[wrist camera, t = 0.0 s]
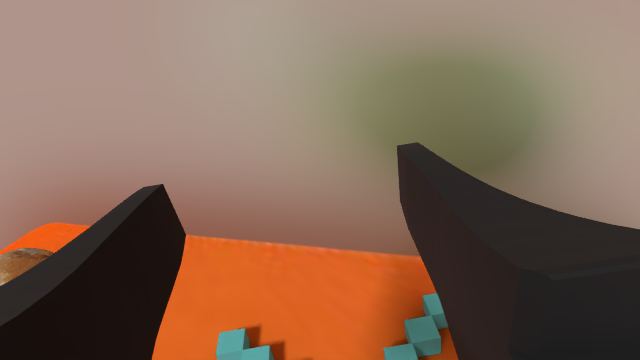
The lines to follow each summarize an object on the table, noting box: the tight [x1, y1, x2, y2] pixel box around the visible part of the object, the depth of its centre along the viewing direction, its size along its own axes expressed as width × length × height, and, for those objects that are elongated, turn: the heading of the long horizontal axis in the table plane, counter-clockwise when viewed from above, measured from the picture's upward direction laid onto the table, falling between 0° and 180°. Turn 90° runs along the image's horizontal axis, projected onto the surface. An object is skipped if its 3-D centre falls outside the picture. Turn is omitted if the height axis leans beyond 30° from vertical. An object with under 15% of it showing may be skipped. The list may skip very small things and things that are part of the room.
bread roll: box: [0, 248, 54, 286], centre depth 44 cm, size 10×10×8 cm
